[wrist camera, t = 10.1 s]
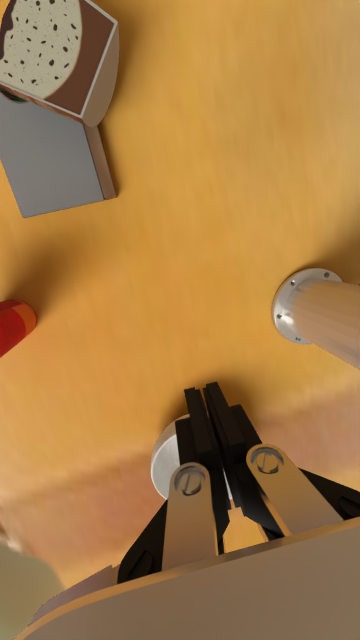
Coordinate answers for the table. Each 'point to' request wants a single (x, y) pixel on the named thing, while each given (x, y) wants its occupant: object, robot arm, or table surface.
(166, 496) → the cereal bowl
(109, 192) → the rail
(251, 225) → the table surface
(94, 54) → the food container
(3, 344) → the paper cup
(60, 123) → the mat
